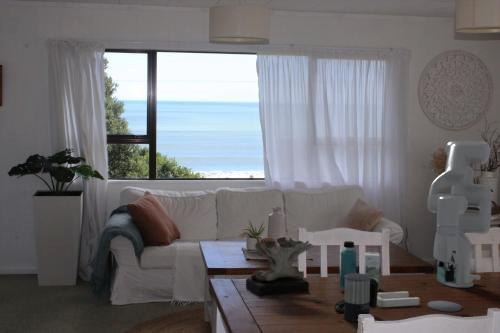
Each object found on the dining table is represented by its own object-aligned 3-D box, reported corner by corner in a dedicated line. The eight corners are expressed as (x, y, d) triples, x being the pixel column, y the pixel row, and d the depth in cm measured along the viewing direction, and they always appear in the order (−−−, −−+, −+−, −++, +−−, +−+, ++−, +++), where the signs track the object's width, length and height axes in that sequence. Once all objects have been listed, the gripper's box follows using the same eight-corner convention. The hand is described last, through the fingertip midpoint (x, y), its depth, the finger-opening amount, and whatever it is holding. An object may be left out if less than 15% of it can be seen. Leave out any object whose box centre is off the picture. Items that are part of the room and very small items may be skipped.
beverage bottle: (336, 292, 257) (338, 242, 256) (342, 288, 263) (343, 239, 262) (352, 294, 254) (354, 243, 253) (358, 290, 260) (359, 241, 259)
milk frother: (362, 324, 217) (363, 280, 216) (321, 315, 226) (322, 273, 225) (380, 314, 229) (381, 273, 227) (340, 306, 238) (341, 266, 237)
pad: (450, 301, 246) (450, 300, 246) (468, 310, 235) (468, 309, 235) (421, 303, 243) (421, 301, 243) (438, 312, 232) (438, 310, 232)
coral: (301, 282, 272) (302, 231, 270) (323, 295, 253) (325, 240, 251) (245, 287, 263) (246, 234, 261) (264, 300, 244) (265, 244, 242)
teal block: (449, 279, 241) (449, 266, 241) (456, 283, 236) (456, 269, 236) (437, 280, 240) (437, 266, 240) (443, 283, 235) (444, 269, 235)
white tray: (406, 297, 251) (406, 291, 251) (419, 305, 241) (419, 298, 241) (369, 299, 247) (369, 293, 247) (380, 307, 237) (380, 300, 237)
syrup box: (377, 287, 266) (378, 252, 265) (379, 290, 260) (380, 255, 259) (363, 286, 267) (364, 251, 266) (364, 290, 261) (365, 254, 260)
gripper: (426, 226, 244) (424, 274, 245) (450, 234, 228) (448, 285, 229) (444, 226, 246) (442, 273, 247) (469, 233, 230) (467, 284, 231)
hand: (445, 279), depth 238 cm, fingers closed on teal block, 5 cm apart
